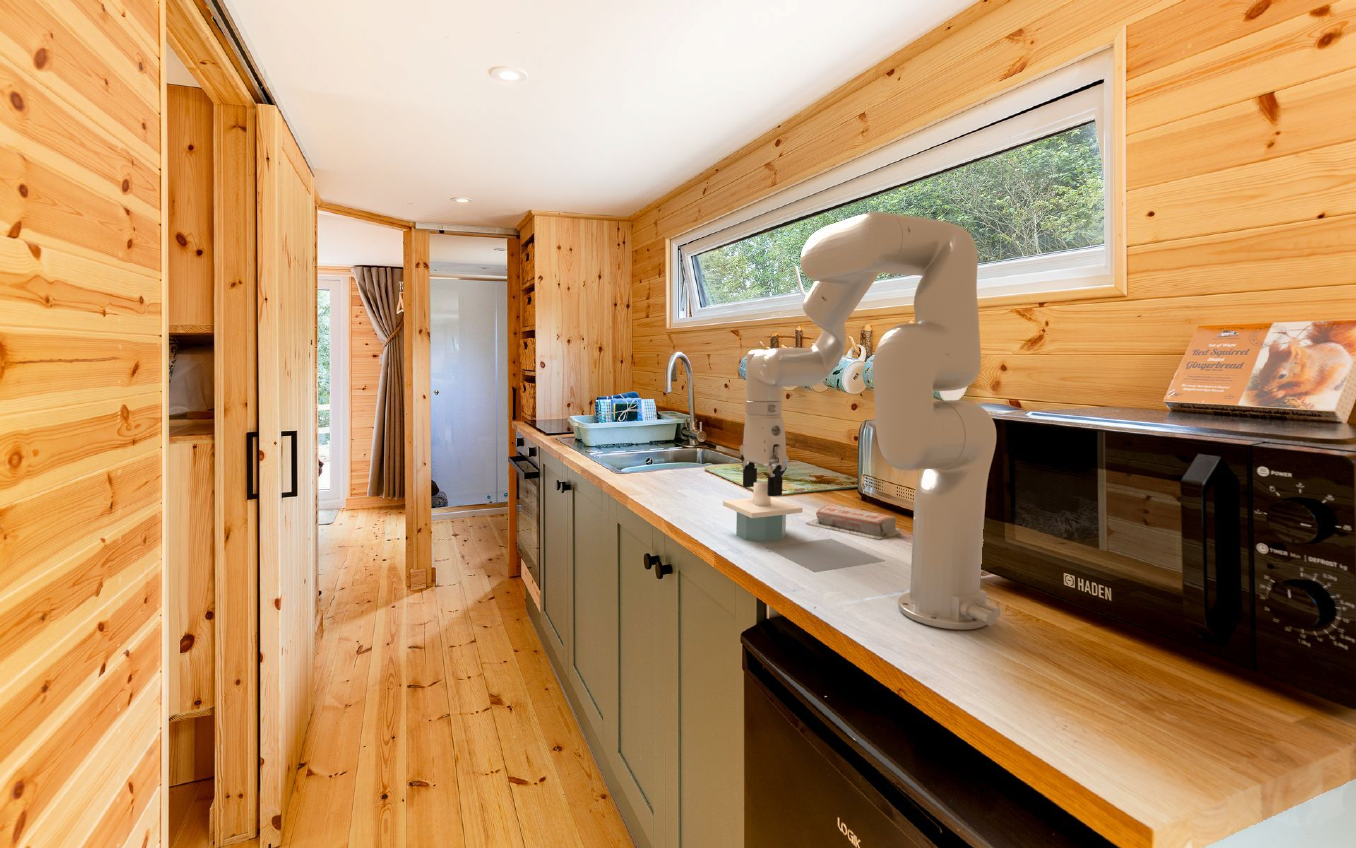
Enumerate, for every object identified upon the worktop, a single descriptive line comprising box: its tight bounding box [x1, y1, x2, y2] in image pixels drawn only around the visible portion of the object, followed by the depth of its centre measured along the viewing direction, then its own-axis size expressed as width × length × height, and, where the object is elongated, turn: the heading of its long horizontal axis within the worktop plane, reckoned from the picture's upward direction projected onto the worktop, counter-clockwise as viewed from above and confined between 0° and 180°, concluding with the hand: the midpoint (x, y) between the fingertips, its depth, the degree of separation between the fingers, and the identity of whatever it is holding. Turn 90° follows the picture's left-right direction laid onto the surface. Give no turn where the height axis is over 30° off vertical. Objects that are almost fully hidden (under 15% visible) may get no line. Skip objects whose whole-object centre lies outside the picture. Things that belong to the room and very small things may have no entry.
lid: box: [722, 481, 804, 518], centre depth 135 cm, size 12×12×6 cm
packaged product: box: [805, 503, 901, 541], centre depth 143 cm, size 18×5×10 cm
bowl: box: [736, 511, 787, 543], centre depth 136 cm, size 10×10×6 cm
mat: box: [764, 538, 886, 573], centre depth 124 cm, size 16×16×1 cm
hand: (761, 491), depth 135 cm, fingers open, 9 cm apart
